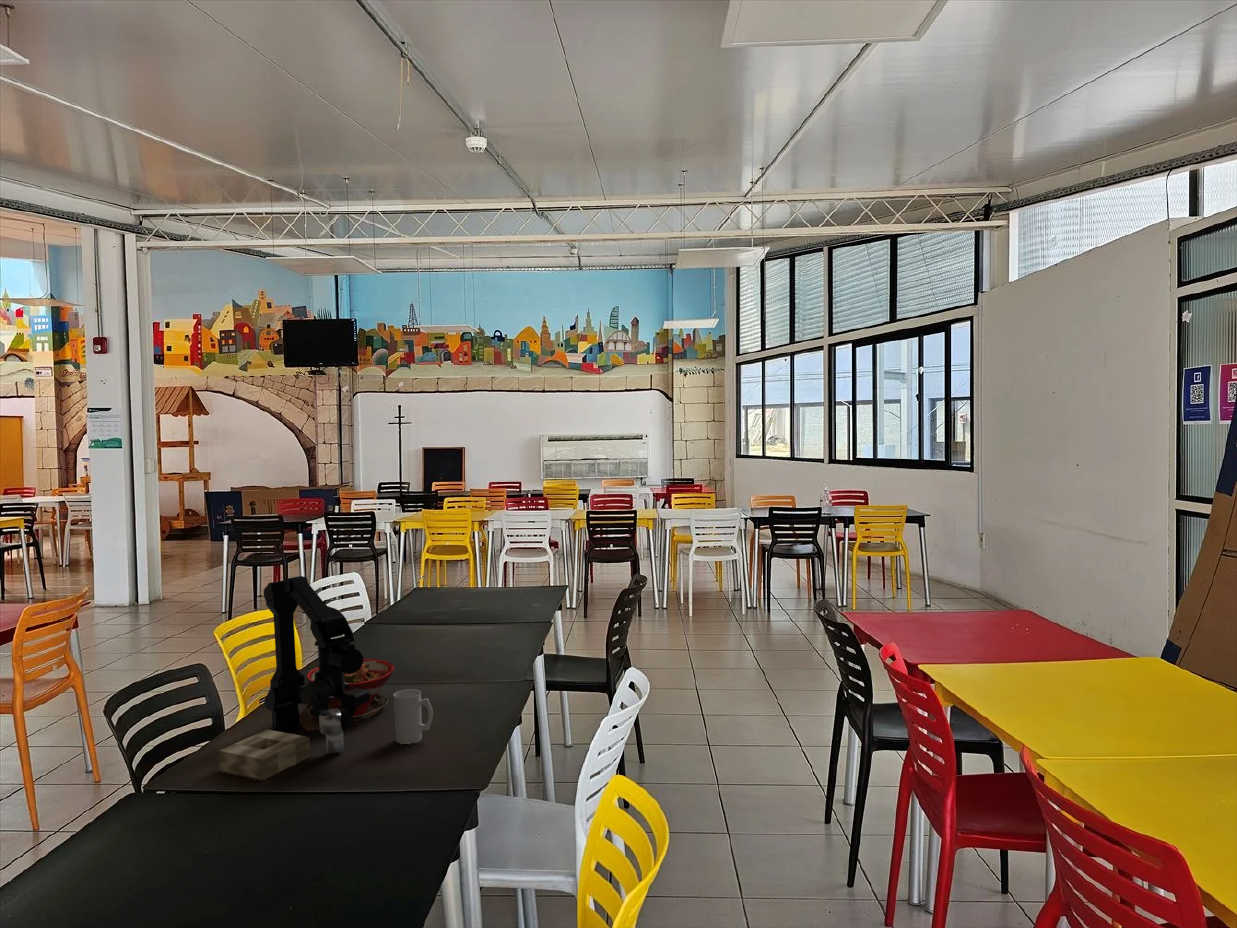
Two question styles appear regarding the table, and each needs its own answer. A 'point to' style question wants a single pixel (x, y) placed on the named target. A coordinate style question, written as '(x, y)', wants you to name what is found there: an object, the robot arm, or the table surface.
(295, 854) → the table surface
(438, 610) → the table surface
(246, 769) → the hitch block
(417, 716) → the mug
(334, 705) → the stew
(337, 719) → the pin
